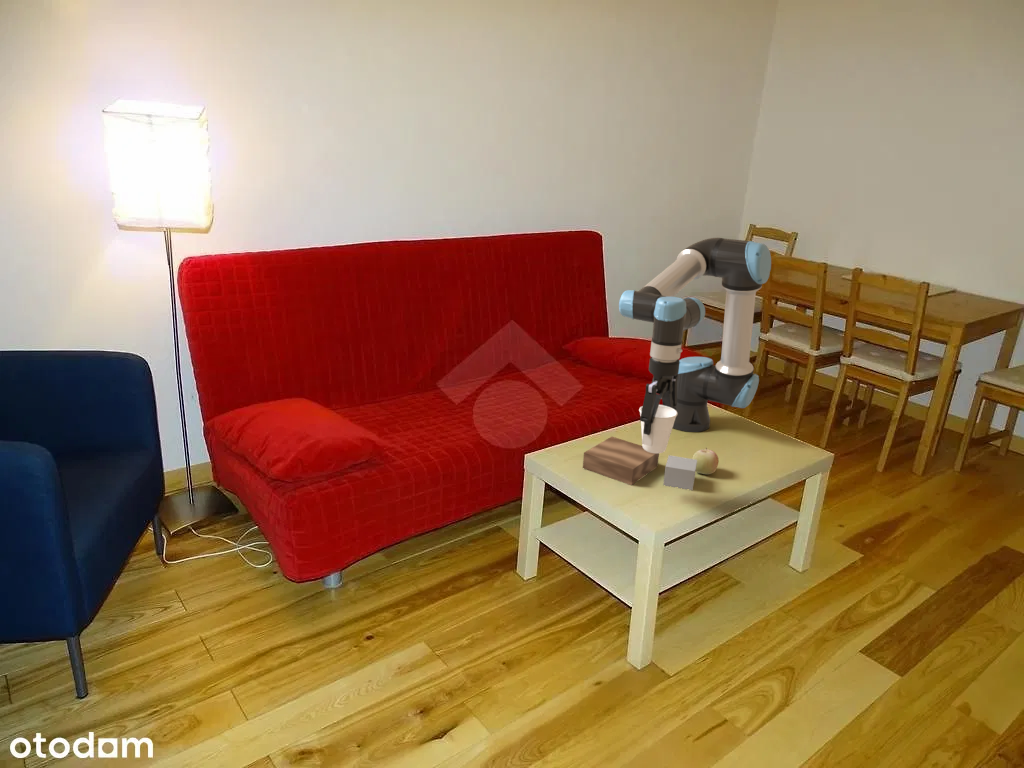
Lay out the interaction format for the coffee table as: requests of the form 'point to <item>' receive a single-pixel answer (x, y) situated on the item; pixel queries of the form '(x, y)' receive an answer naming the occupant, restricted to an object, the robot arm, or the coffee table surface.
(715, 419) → the coffee table surface
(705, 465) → the fruit
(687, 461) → the grey block
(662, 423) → the cup
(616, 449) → the walnut block
